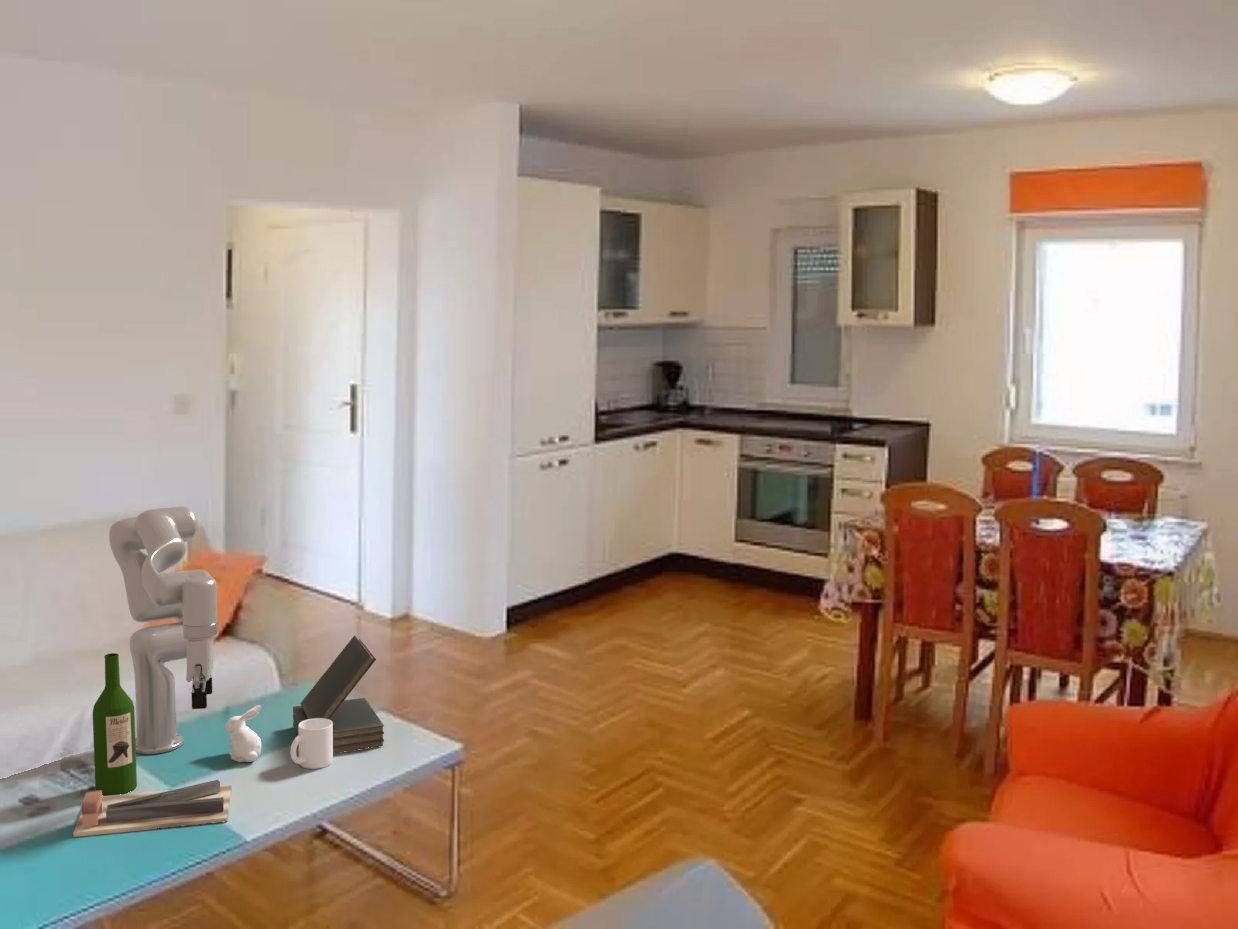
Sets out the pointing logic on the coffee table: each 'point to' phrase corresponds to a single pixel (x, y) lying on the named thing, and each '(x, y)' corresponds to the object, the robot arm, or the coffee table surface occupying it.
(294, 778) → the coffee table surface
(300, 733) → the mug
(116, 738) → the wine bottle
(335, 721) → the stack of books
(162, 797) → the bar
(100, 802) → the brown arch block
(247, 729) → the rabbit
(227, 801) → the board
